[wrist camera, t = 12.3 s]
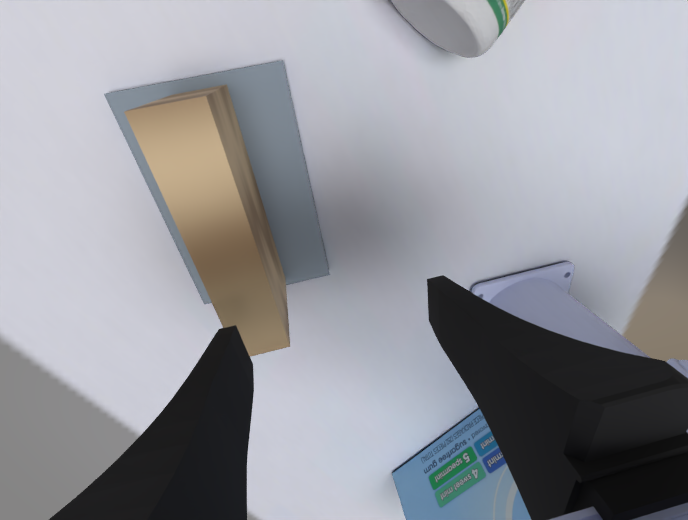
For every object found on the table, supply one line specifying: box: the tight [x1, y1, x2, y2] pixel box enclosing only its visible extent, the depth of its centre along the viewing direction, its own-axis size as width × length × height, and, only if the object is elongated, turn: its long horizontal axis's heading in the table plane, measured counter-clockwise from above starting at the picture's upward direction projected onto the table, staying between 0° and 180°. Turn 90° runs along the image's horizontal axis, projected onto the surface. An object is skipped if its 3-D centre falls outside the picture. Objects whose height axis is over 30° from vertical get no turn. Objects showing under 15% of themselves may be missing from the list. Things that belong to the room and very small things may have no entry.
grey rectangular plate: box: [104, 61, 330, 304], centre depth 19 cm, size 12×8×1 cm, turn 9°
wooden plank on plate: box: [124, 84, 290, 356], centre depth 16 cm, size 11×2×6 cm, turn 9°
